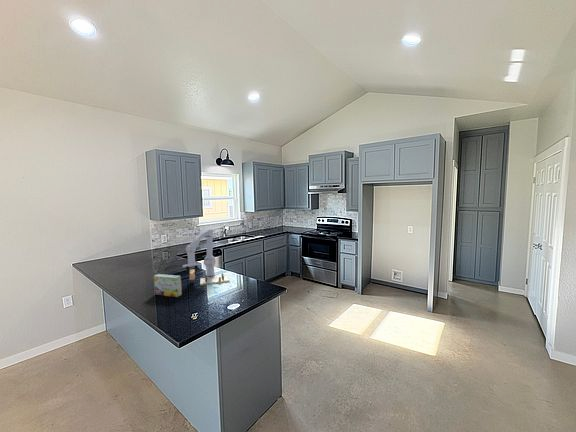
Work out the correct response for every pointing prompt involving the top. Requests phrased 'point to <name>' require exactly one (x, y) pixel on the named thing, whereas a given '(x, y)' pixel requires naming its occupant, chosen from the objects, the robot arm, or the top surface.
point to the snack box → (167, 285)
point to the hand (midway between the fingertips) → (192, 274)
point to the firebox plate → (214, 280)
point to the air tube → (192, 274)
